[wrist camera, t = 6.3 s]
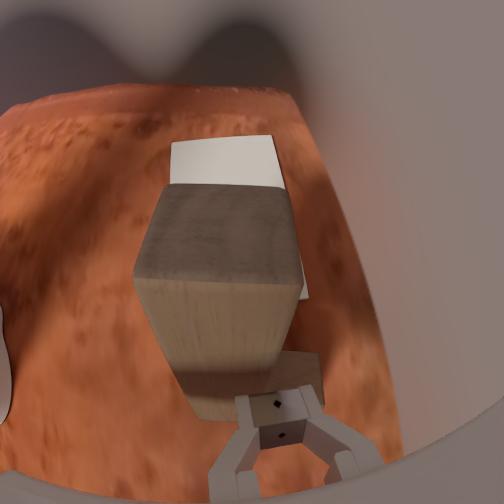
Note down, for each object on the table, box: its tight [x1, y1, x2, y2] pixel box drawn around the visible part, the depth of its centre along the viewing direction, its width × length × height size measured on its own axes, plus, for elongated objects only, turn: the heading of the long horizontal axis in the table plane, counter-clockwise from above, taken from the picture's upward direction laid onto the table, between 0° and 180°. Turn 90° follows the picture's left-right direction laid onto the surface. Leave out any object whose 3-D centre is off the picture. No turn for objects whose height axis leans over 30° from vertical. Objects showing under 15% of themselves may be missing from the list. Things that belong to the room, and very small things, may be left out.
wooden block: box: [132, 183, 325, 422], centre depth 15 cm, size 9×4×18 cm, turn 89°
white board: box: [170, 135, 309, 300], centre depth 29 cm, size 20×12×1 cm, turn 8°
